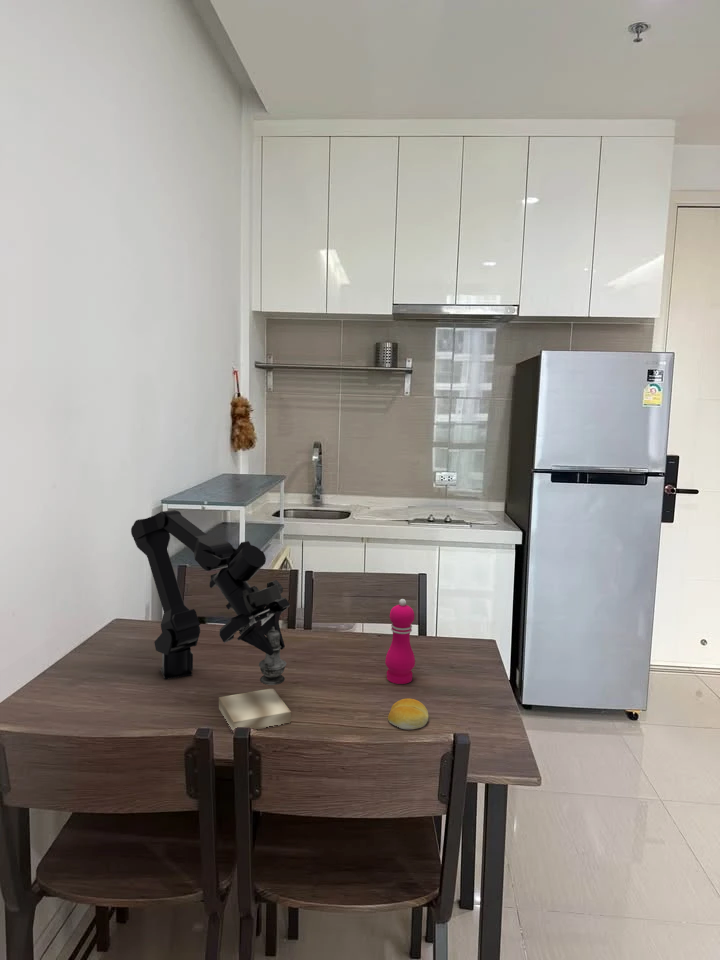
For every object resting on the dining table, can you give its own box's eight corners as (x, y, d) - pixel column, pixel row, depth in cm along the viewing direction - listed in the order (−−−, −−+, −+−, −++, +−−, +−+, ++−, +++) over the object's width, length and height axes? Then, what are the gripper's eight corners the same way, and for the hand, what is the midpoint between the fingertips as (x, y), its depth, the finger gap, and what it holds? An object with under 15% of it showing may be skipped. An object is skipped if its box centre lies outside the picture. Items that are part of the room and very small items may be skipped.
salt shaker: (281, 687, 135) (282, 632, 134) (254, 684, 136) (255, 629, 134) (289, 675, 141) (290, 622, 139) (263, 672, 142) (264, 620, 140)
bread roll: (385, 728, 133) (385, 709, 132) (393, 709, 141) (394, 691, 141) (424, 734, 131) (425, 715, 130) (430, 714, 139) (431, 696, 139)
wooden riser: (233, 734, 128) (233, 722, 127) (218, 708, 138) (218, 697, 138) (290, 723, 133) (290, 711, 133) (272, 699, 144) (272, 688, 143)
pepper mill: (378, 678, 157) (381, 598, 154) (397, 670, 162) (400, 592, 160) (401, 687, 152) (404, 605, 150) (420, 679, 157) (423, 599, 155)
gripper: (231, 580, 129) (275, 644, 125) (284, 562, 146) (324, 618, 142) (200, 610, 134) (242, 674, 130) (255, 590, 150) (293, 645, 146)
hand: (278, 651), depth 137 cm, fingers closed on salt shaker, 4 cm apart
